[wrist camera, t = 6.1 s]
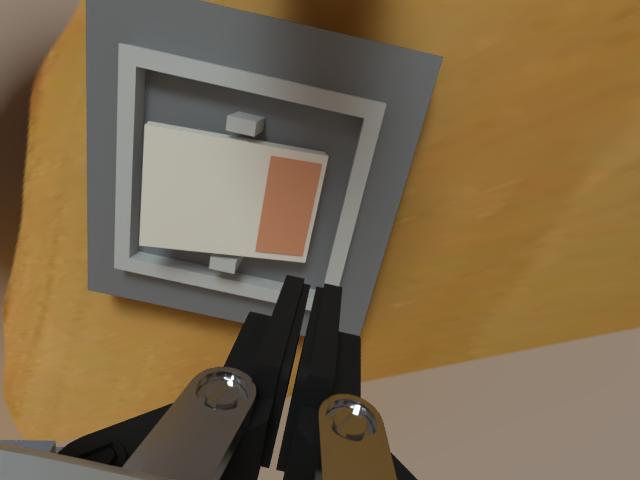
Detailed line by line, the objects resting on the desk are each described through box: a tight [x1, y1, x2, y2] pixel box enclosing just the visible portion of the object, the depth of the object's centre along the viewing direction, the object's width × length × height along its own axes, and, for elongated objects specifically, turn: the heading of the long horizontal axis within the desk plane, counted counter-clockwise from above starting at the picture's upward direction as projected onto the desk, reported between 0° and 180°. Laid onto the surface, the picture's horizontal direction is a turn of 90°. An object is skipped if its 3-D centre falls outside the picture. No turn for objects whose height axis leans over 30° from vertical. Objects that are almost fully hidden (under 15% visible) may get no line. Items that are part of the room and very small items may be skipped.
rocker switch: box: [139, 121, 329, 263], centre depth 25 cm, size 10×7×1 cm
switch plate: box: [86, 0, 443, 336], centre depth 27 cm, size 20×20×6 cm
